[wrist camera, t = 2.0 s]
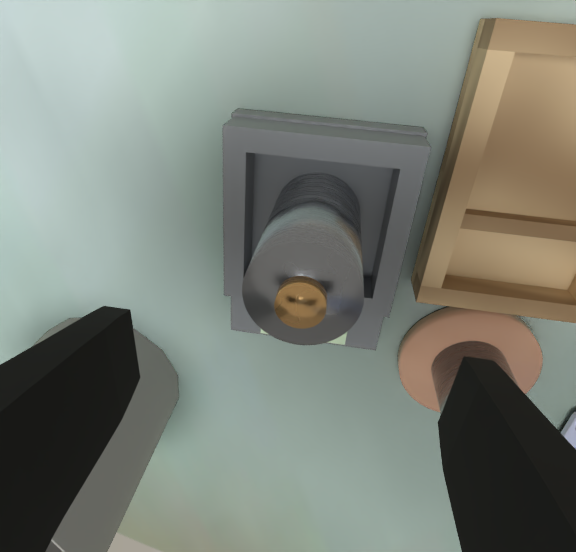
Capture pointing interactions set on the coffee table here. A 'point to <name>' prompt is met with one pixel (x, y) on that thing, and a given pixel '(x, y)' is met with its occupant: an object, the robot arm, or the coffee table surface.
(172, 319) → the coffee table surface
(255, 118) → the cradle
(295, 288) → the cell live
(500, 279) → the tray
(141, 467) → the cup
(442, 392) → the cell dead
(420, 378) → the dish
